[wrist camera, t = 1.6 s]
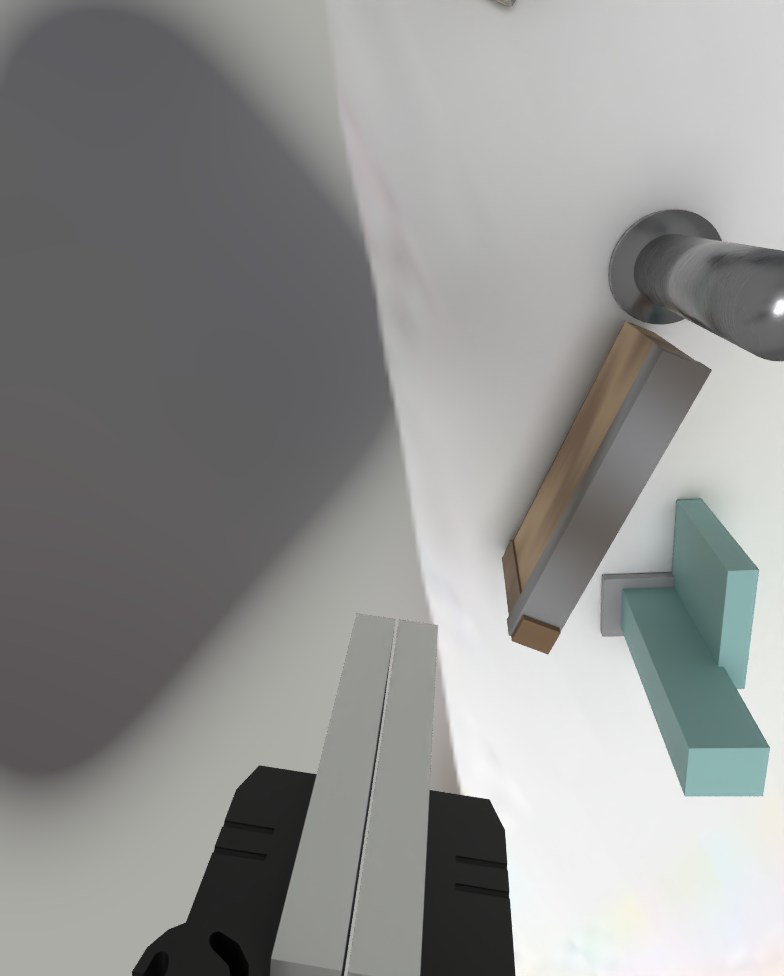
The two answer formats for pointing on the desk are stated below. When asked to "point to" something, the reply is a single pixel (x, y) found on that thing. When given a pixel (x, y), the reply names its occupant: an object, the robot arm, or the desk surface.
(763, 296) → the hinge post
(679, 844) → the desk surface
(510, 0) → the camera
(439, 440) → the desk surface
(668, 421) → the gate
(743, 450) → the desk surface
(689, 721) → the stile
